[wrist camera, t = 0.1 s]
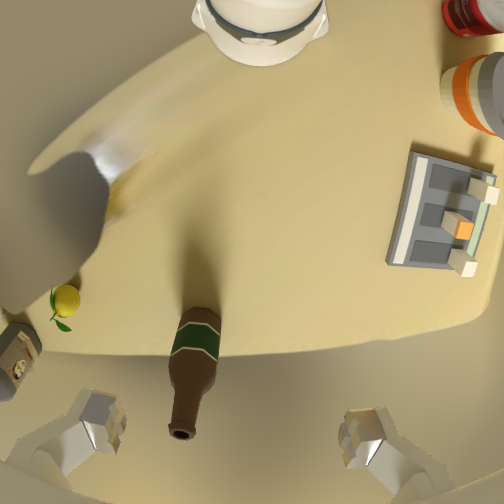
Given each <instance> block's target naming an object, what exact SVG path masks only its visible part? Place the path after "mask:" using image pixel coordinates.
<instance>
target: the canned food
mask: <svg viewBox="0 0 504 504" xmlns="http://www.w3.org/2000/svg"><path fill="white" fill-rule="evenodd" d="M442 15H443V19H444V21H445V23H446V25H447V26H448V27H449V28H450V30H451V31H453V32H454V33H455V34H457V35H459V36H461V37H465V38H471V37H477V36H484V35H491V34H498V33H504V0H446V1H445V2H444V4H443V6H442Z"/></svg>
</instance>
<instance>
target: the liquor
mask: <svg viewBox="0 0 504 504" xmlns="http://www.w3.org/2000/svg"><path fill="white" fill-rule="evenodd" d="M41 351H42V345H41V343H40V341H39V339H38V337H37V335H36V333H35V331H34V330H33V329H32V328H31V327H30V326H28V325H27V324H23V323H16V322H12V323H10V324H9V325H8V326H7V328H6V329H5V330H4V331H3V332H2V334H1V335H0V402H2V401H9V400H11V399H12V398H13V397H14V395H15V393H16V391H17V390H18V388H19V386H20V385H21V383H22V381H23V380H24V378H25V377H26V375H27V373H28V372H29V370H30V369H31V367H32V365H33V364H34V362H35V361H36V359H37V358H38V356H39V354H40V353H41Z"/></svg>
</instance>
